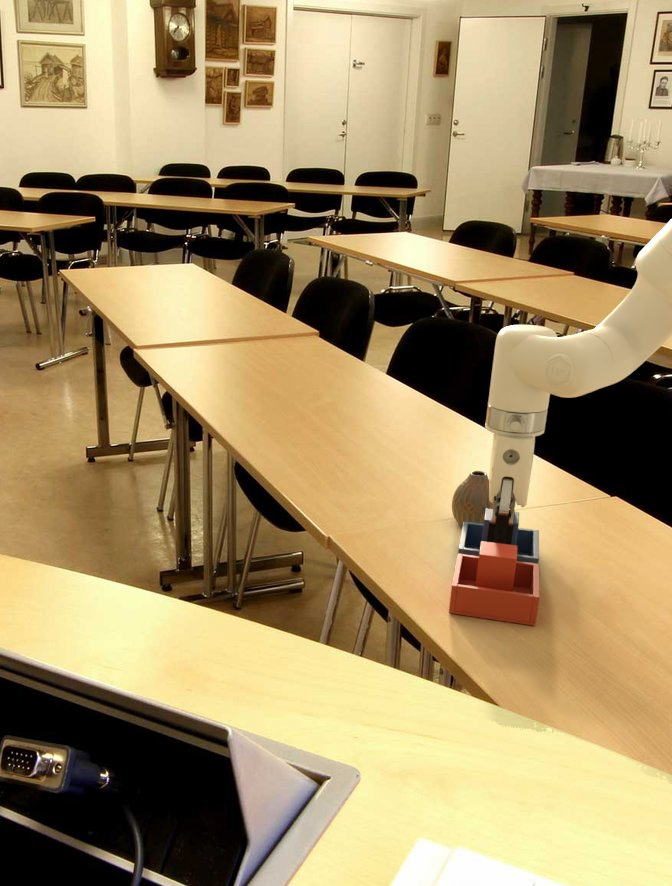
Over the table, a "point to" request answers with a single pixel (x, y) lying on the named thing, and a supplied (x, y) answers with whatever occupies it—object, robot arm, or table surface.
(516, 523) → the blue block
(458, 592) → the red bin
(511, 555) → the red block
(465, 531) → the blue bin
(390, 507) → the table surface
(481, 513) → the vase
